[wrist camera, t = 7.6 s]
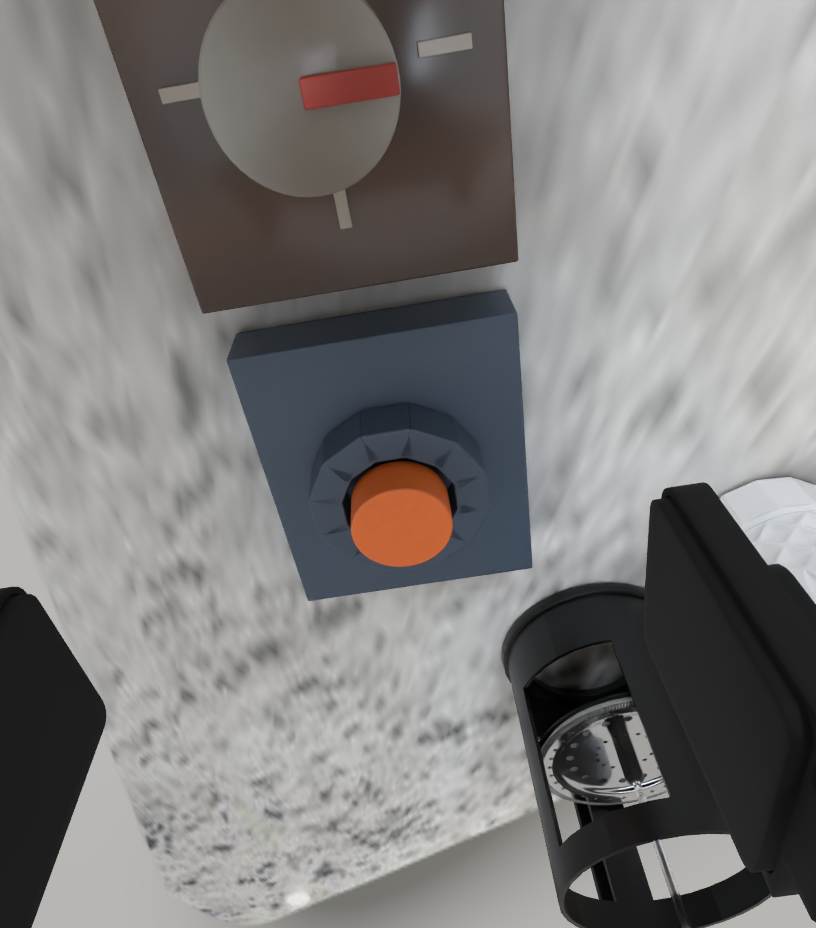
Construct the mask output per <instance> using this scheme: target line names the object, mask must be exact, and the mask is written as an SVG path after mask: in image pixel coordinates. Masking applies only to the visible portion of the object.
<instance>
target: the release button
mask: <svg viewBox="0 0 816 928" xmlns="http://www.w3.org/2000/svg"><path fill="white" fill-rule="evenodd" d="M452 530H453V520H452V514H451V508H450V502H449V496H448V491H447V488H446V485H445V483H444V482H443V480H442V479H441V478H440V476H439V475H438V474H436V473H435V472H434V471H433V470H431V469H430V468H428V467H426V466H424V465H422V464H419V463H415V462H410V461H393V462H388V463H384V464H381V465H378V466H376V467H374V468H372V469H371V470H369V471H368V472H367V473H365V474H364V475H363V476H362V477H361V478H360V479H359V481H358V482H357V484H356V485H355V487H354V490H353V493H352V498H351V535H352V539H353V541H354V543H355V545H356V547H357V548H358V549H359V550H360V552H362V553H363V554H364V555H365V556H366V557H368V558H369V559H371V560H373V561H375V562H377V563H380V564H383V565H387V566H394V567H405V566H412V565H417V564H420V563H423V562H425V561H428V560H430V559H431V558H433V557H435V556H436V555H437V554H439V553H440V552H441V551H442V550H443V549H444V547H445V546H446V545H447V543H448V542H449V539H450V537H451V534H452Z"/></svg>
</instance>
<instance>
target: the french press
mask: <svg viewBox="0 0 816 928" xmlns="http://www.w3.org/2000/svg"><path fill="white" fill-rule="evenodd" d="M644 596H645V589H643V588H640V587H636V586H632V585H627V584H616V583H602V584H590V585H585V586H580V587H575V588H571V589H568V590H566V591H563V592H560V593H557V594H554V595H552V596H551V597H549V598H547V599H545V600H543V601H541V602H539V603H537V604H536V605H535V606H533V607H532V608H530V609H529V610H528V611H526V612H525V613H524V614H523V615H522V616H521V617H520V618H519V619H518V620H517V621H516V622H515V623H514V625H513V626H512V628H511V629H510V631H509V632H508V634H507V636H506V639H505V642H504V645H503V650H502V662H503V666H504V670H505V674H506V676H507V677H508V679H509V681H510V682H511V684H512V688H513V693H514V698H515V702H516V707H517V712H518V716H519V721H520V725H521V730H522V735H523V739H524V744H525V749H526V753H527V758H528V763H529V767H530V772H531V777H532V781H533V786H534V791H535V795H536V800H537V804H538V809H539V814H540V818H541V823H542V828H543V832H544V837H545V842H546V846H547V850H548V856H549V860H550V865H551V869H552V873H553V879H554V883H555V888H556V892H557V897H558V902H559V906H560V910H561V913H562V914H563V916H564V917H565V918H566V919H567V920H568V921H569V922H571V923H572V924H574V925H575V926H577V927H579V928H705V927H708V926H711V925H714V924H718V923H721V922H724V921H726V920H729V919H731V918H734V917H736V916H738V915H741V914H743V913H745V912H747V911H749V910H751V909H753V908H754V907H756V906H758V905H760V904H761V903H763V902H764V901H765V900H767V899H768V898H770V897H771V896H772V895H771V892H770V890H769V888H768V886H767V884H766V882H765V879H764V877H763V875H762V873H761V872H758V873H751V872H750V871H749V870H747V868H744V869H743V870H741V871H740V872H738V873H736V874H735V875H733V876H731V877H729V878H728V879H726V880H723V881H721V882H719V883H717V884H714V885H712V886H710V887H707V888H704V889H701V890H698V891H695V892H692V893H688V894H684V895H680V894H679V891H678V888H677V885H676V882H675V879H674V877H673V874H672V871H671V868H670V865H669V862H668V859H667V856H666V854H665V851H664V848H663V845H662V842H661V840H662V839H667V838H673V837H679V836H686V835H699V834H730V833H729V831H728V829H727V826H726V824H725V822H724V820H723V817H722V815H721V813H720V811H719V808H718V806H717V804H716V802H715V799H714V797H713V795H712V793H711V790H710V788H709V786H708V784H707V781H706V779H705V777H704V775H703V772H702V770H701V768H700V766H699V763H698V761H697V759H696V757H695V754H694V752H693V750H692V748H691V745H690V743H689V741H688V739H687V736H686V734H685V732H684V730H683V727H682V725H681V723H680V721H679V718H678V716H677V714H676V712H675V709H674V707H673V705H672V703H671V700H670V698H669V696H668V694H667V691H666V689H665V687H664V685H663V682H662V680H661V678H660V676H659V673H658V671H657V669H656V667H655V664H654V662H653V660H652V658H651V655H650V653H649V651H648V648H647V646H646V642H645V638H644V634H643V612H644ZM607 642H611V644H612V647H613V649H614V652H615V654H616V657H617V660H618V662H619V665H620V668H621V670H622V673H623V675H624V679H622V680H620V681H617V682H615V683H613V684H610V685H607V686H604V687H600V688H595V689H589V690H565V689H560V688H555V687H552V686H549V685H547V684H545V683H543V682H541V681H540V680H538V679H537V678H536V676H537V675H538V674H539V673H540V672H541V671H542V670H543V669H545V668H546V667H547V666H549V665H550V664H552V663H553V662H555V661H556V660H558V659H560V658H562V657H564V656H566V655H568V654H570V653H572V652H574V651H577V650H580V649H583V648H586V647H589V646H592V645H597V644H602V643H607ZM539 740H540V741H539ZM666 792H668V794H669V796H670V797H669V798H663V799H658V800H652V801H647V799H648V798H652V797H655V796H658V795H661V794H663V793H666ZM551 793H553V794H555V795H557V796H559V797H561V798H563V799H566V800H569V801H573V802H574V805H575V809H576V813H577V817H578V821H579V824H580V828H581V829H579V830H578V831H576V832H575V833H574V834H572V835H571V836H570V837H569V838H568V839H567V840H566V841H565V842H564V843H562V839H561V834H560V830H559V826H558V821H557V817H556V813H555V809H554V804H553V800H552V796H551ZM636 801H639V804H636V805H632V806H629V807H625V808H624V806H623V804H625V803H630V802H636ZM650 842H653V844H654V848H655V851H656V854H657V856H658V859H659V862H660V865H661V868H662V871H663V874H664V877H665V880H666V883H667V886H668V889H669V892H670V895H671V898H666V899H659V900H653V897H652V894H651V891H650V888H649V885H648V882H647V878H646V875H645V872H644V869H643V866H642V863H641V860H640V857H639V853H638V850H637V847H636V846H639V845H642V844H646V843H650ZM589 868H591V871H592V874H593V878H594V882H595V886H596V890H597V893H598V897H599V900H598V899H594V898H589V897H586V896H583V895H581V894H578V893H576V892H574V891H572V890H571V889H569V887H570V885H571V884H572V882H574V881H575V880H576V879H577V878H578V877H579V876H580V875H581V874H582V873H583V872H585V871H586V870H587V869H589Z"/></svg>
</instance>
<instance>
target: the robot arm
mask: <svg viewBox="0 0 816 928" xmlns="http://www.w3.org/2000/svg"><path fill="white" fill-rule="evenodd" d="M643 634H644V638H645V642H646V646H647V648H648V651H649V653H650V655H651V658H652V660H653V662H654V664H655V667H656V669H657V671H658V673H659V676H660V678H661V680H662V682H663V685H664V687H665V689H666V691H667V694H668V696H669V698H670V700H671V703H672V705H673V707H674V709H675V712H676V714H677V716H678V718H679V721H680V723H681V725H682V727H683V730H684V732H685V734H686V736H687V739H688V741H689V743H690V745H691V748H692V750H693V752H694V754H695V757H696V759H697V761H698V763H699V766H700V768H701V770H702V772H703V775H704V777H705V779H706V781H707V784H708V786H709V788H710V790H711V793H712V795H713V797H714V799H715V802H716V804H717V806H718V808H719V811H720V813H721V815H722V817H723V820H724V822H725V824H726V826H727V829H728V831H729V833H730V835H731V838H732V840H733V842H734V844H735V846H736V849H737V851H738V853H739V856H740V858H741V860H742V862H743V864H744V865H745V867H746V868H747V870H749V871H750V872H751V873H758V872H761V873H762V875H763V877H764V879H765V882H766V884H767V886H768V888H769V890H770V892H771V895H772V897H781V896H788V895H796V894H799V895H800V897H801V899H802V901H803V903H804V905H805V907H806V909H807V911H808V913H809V915H810V917H811V919H812V920H813V921H815V922H816V604H815V603H814V601H813V600H812V599H811V597H810V596H809V595H808V593H807V592H806V591H805V590H804V588H803V587H802V586H801V584H800V583H799V582H798V580H797V579H796V578H795V576H794V575H793V574H792V573H791V572H790V571H789V570H788V569H787V568H786V567H784V566H782V565H780V564H771V565H767V563H766V562H765V561H764V559H763V558H762V556H761V555H760V554H759V552H758V551H757V550H756V548H755V547H754V545H753V544H752V543H751V541H750V540H749V539H748V537H747V536H746V534H745V533H744V532H743V530H742V529H741V528H740V526H739V525H738V524H737V522H736V521H735V519H734V518H733V517H732V515H731V514H730V513H729V511H728V510H727V508H726V507H725V506H724V504H723V503H722V502H721V500H720V499H719V497H718V496H717V495H716V493H715V492H714V491H713V489H712V488H711V487H710V486H709V485H708V484H707V483H704V482H703V483H697V484H690V485H683V486H677V487H670V488H666V489H664V491H663V493H662V498H661V499H657V500H653V501H652V502H651V506H650V518H649V534H648V549H647V565H646V581H645V596H644V612H643ZM105 723H106V709H105V705H104V703H103V701H102V699H101V697H100V696H99V694H98V693H97V691H96V690H95V688H94V686H93V685H92V683H91V682H90V680H89V679H88V677H87V675H86V674H85V672H84V671H83V669H82V668H81V666H80V665H79V663H78V661H77V660H76V658H75V657H74V655H73V654H72V652H71V650H70V649H69V647H68V646H67V644H66V643H65V641H64V639H63V638H62V636H61V635H60V634H59V632H58V630H57V629H56V627H55V625H54V624H53V622H52V621H51V619H50V618H49V616H48V614H47V613H46V611H45V610H44V608H43V607H42V605H41V603H40V602H39V600H38V599H37V598H36V597H35V596H33V595H31V594H27V593H26V592H25V591H24V590H23V589H21V588H19V587H8V588H1V589H0V928H31V927H32V924H33V922H34V919H35V916H36V913H37V911H38V908H39V905H40V902H41V900H42V897H43V894H44V891H45V889H46V886H47V883H48V880H49V878H50V875H51V872H52V869H53V867H54V864H55V861H56V858H57V856H58V853H59V850H60V848H61V845H62V842H63V839H64V837H65V834H66V831H67V828H68V825H69V823H70V820H71V817H72V815H73V812H74V809H75V806H76V804H77V801H78V798H79V795H80V792H81V790H82V787H83V784H84V782H85V779H86V776H87V773H88V771H89V768H90V765H91V762H92V760H93V757H94V754H95V751H96V749H97V746H98V743H99V740H100V738H101V735H102V732H103V729H104V726H105Z"/></svg>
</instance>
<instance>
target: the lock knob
mask: <svg viewBox="0 0 816 928" xmlns="http://www.w3.org/2000/svg"><path fill="white" fill-rule="evenodd" d="M198 83H199V92H200V98H201V103H202V107H203V111H204V114H205V117H206V119H207V122H208V125H209V127H210V129H211V131H212V133H213V135H214V137H215V139H216V140H217V142H218V144H219V145H220V147H221V149H222V150H223V151H224V152H225V154H226V155H227V156H228V158H229V159H230V160H231V161H232V162H233V163H234V164H235V165H236V166H237V167H238V168H239V169H240V170H241V171H242V172H243V173H245V174H246V175H247V176H248V177H250V178H251V179H253V180H254V181H256V182H257V183H259V184H261V185H262V186H264V187H266V188H269V189H271V190H273V191H276V192H279V193H282V194H285V195H290V196H296V197H320V196H326V195H330V194H334V193H337V192H339V191H342V190H344V189H346V188H348V187H350V186H352V185H354V184H355V183H357V182H358V181H359V180H361V179H362V178H363V177H365V176H366V175H367V174H368V173H369V172H370V171H371V170H372V169H373V168H374V167H375V166H376V164H377V163H378V162H379V160H380V159H381V158H382V156H383V155H384V153H385V151H386V149H387V148H388V146H389V144H390V141H391V139H392V137H393V134H394V132H395V128H396V125H397V121H398V116H399V110H400V98H401V87H400V75H399V70H398V64H397V60H396V57H395V54H394V50H393V47H392V45H391V42H390V40H389V38H388V36H387V33H386V31H385V29H384V28H383V26H382V24H381V22H380V20H379V18H378V17H377V15H376V13H375V12H374V10H373V9H372V8H371V6H370V5H369V4H368V3H367V1H366V0H224V1H223V2H222V3H221V5H220V6H219V7H218V8H217V10H216V12H215V13H214V15H213V17H212V19H211V20H210V22H209V25H208V27H207V29H206V32H205V34H204V38H203V41H202V45H201V49H200V56H199V63H198Z"/></svg>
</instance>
